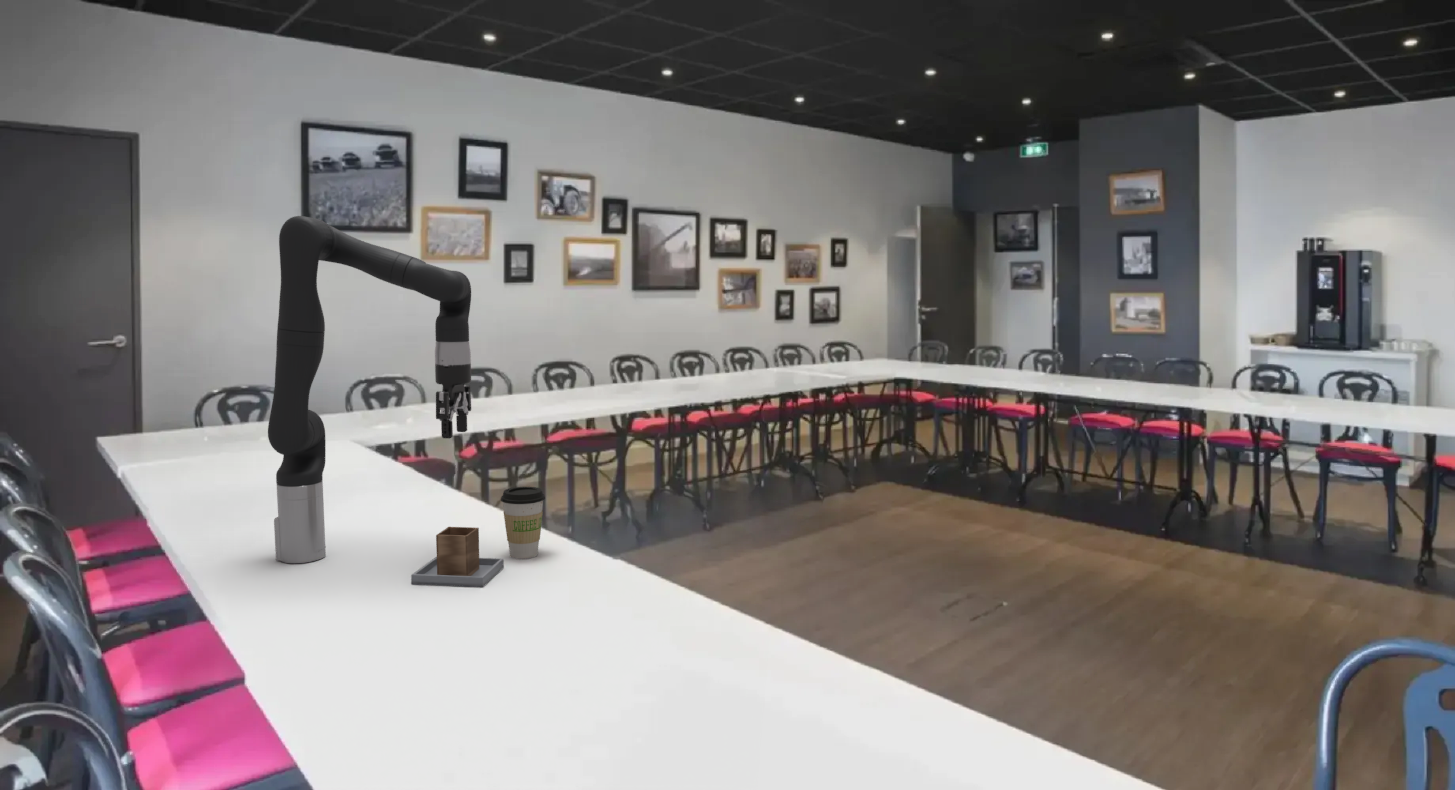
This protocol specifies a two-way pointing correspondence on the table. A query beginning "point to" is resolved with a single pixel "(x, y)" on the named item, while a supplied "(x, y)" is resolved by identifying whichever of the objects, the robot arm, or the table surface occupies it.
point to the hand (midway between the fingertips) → (454, 434)
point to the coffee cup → (523, 520)
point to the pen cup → (458, 551)
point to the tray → (478, 579)
